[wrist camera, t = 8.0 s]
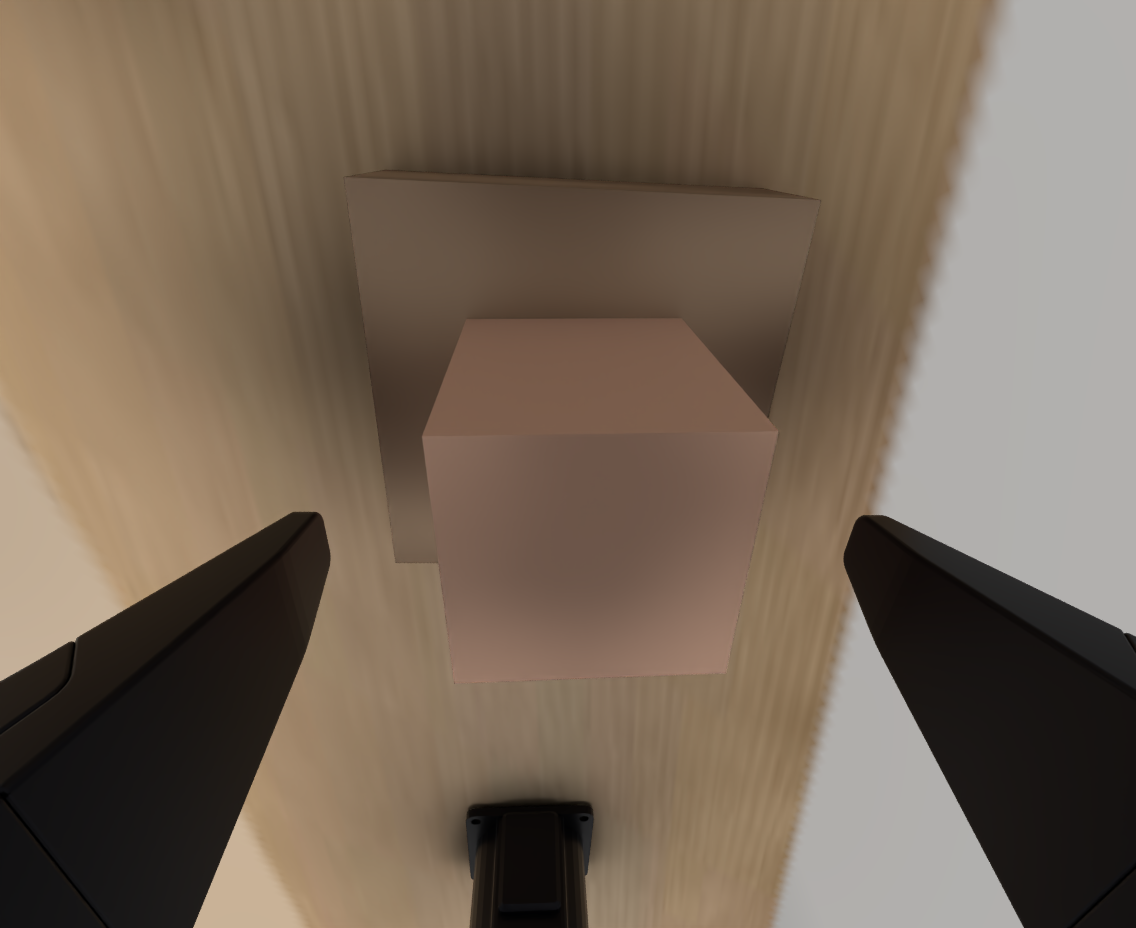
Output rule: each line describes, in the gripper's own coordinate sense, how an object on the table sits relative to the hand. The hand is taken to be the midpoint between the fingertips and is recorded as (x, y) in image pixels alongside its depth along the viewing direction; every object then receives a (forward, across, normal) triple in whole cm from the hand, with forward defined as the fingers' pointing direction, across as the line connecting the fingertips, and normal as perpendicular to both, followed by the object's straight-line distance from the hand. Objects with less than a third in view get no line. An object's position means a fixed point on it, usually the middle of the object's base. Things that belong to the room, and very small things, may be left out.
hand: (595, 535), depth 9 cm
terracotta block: (+5, 0, 0) cm, 5 cm away
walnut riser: (+9, 0, 0) cm, 9 cm away
